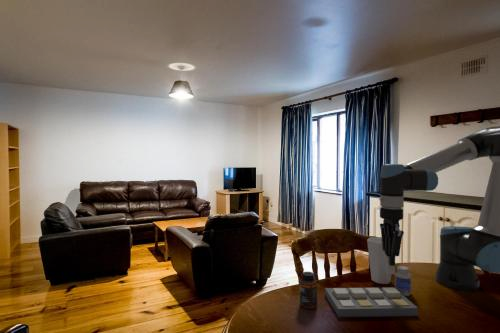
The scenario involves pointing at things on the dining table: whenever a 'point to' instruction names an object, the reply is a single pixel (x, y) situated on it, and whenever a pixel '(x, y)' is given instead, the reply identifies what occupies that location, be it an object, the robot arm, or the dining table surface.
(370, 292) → the button
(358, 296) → the button
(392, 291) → the button
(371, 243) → the cup
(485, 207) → the robot arm
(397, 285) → the pill bottle
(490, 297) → the dining table surface
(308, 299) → the supplement bottle
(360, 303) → the board
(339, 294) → the button
